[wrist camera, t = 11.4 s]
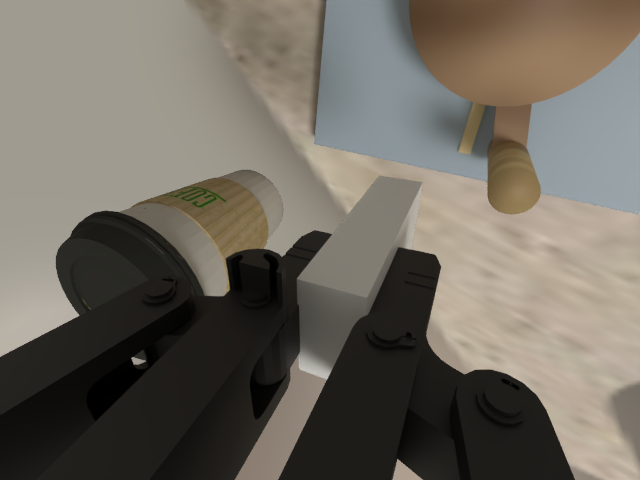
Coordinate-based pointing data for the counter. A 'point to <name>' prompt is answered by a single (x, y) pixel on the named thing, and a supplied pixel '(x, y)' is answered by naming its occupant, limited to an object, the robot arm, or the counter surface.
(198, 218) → the coffee cup
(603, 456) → the counter surface
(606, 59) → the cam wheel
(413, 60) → the blue board
